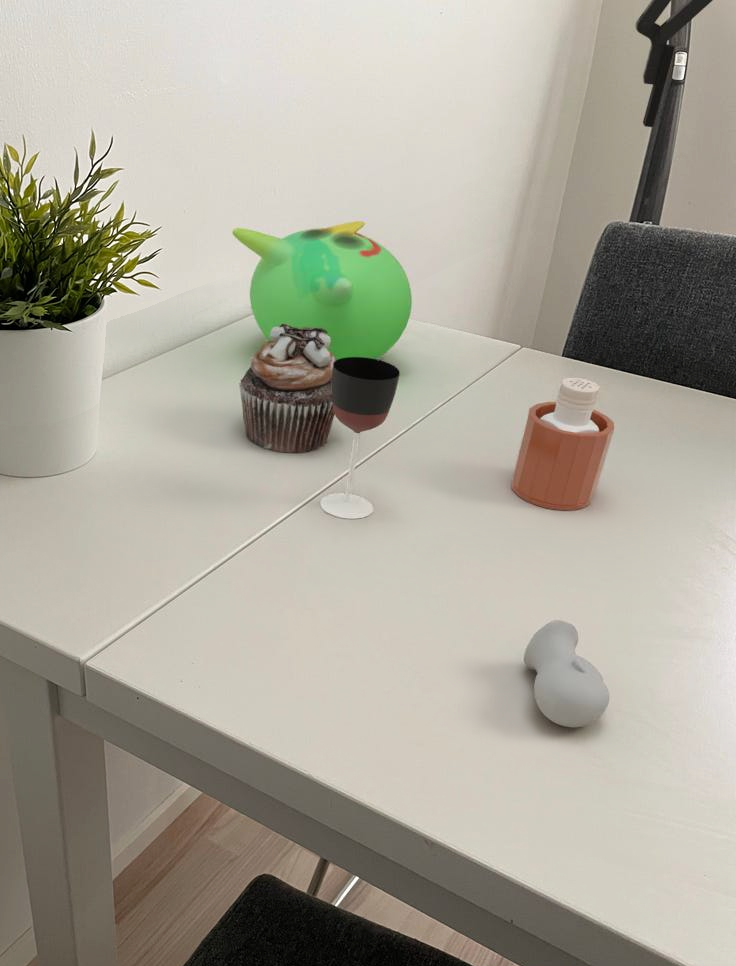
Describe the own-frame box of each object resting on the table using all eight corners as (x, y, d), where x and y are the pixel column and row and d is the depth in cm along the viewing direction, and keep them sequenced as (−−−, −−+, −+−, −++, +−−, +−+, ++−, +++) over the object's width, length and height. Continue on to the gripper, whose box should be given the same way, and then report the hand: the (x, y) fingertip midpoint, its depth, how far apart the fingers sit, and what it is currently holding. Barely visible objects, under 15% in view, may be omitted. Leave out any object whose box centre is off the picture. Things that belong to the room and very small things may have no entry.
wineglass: (324, 487, 87) (342, 352, 80) (383, 500, 86) (405, 365, 79) (308, 510, 83) (325, 371, 76) (369, 525, 82) (392, 384, 75)
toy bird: (427, 368, 113) (452, 232, 104) (337, 404, 102) (356, 256, 94) (304, 325, 122) (318, 197, 114) (209, 354, 111) (217, 215, 103)
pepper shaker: (556, 473, 92) (583, 373, 86) (584, 493, 89) (615, 391, 83) (521, 479, 90) (546, 377, 85) (548, 499, 87) (577, 395, 82)
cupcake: (232, 413, 98) (239, 311, 93) (328, 416, 100) (341, 316, 94) (239, 455, 91) (247, 347, 85) (344, 458, 92) (359, 352, 86)
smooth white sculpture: (594, 756, 62) (522, 727, 61) (575, 676, 69) (509, 650, 68) (635, 709, 60) (560, 678, 59) (612, 631, 66) (543, 602, 65)
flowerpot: (591, 481, 92) (612, 409, 88) (592, 516, 86) (616, 441, 82) (512, 467, 93) (530, 396, 89) (509, 501, 87) (527, 426, 83)
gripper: (658, -171, 80) (587, 122, 92) (994, -147, 76) (873, 157, 88) (651, -162, 86) (586, 112, 98) (963, -139, 82) (854, 144, 94)
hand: (722, 134), depth 93 cm, fingers open, 13 cm apart
